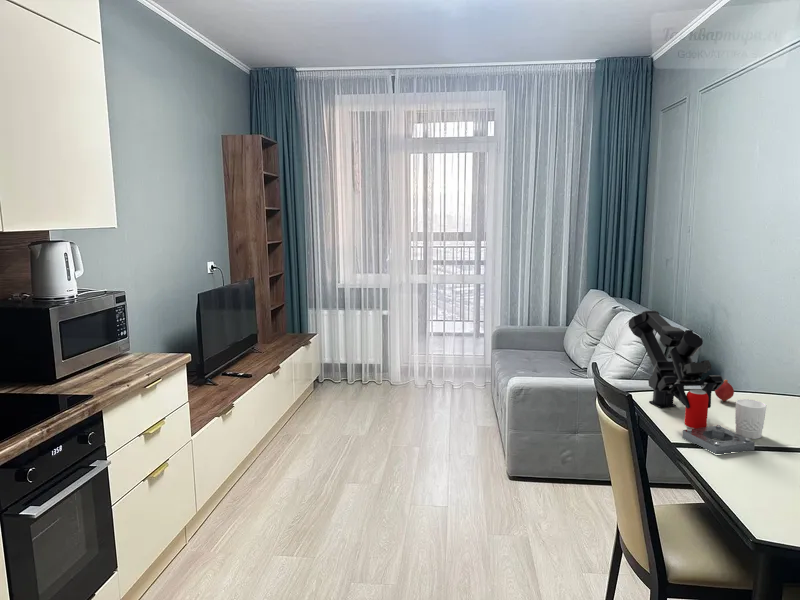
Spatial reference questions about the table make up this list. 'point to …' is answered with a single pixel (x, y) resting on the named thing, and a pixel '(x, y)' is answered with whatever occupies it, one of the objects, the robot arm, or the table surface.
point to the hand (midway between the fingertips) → (699, 407)
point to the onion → (725, 391)
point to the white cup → (750, 418)
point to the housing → (730, 438)
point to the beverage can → (696, 409)
